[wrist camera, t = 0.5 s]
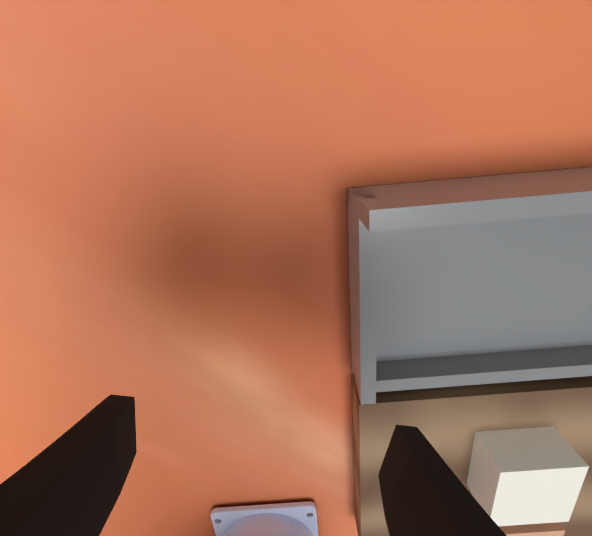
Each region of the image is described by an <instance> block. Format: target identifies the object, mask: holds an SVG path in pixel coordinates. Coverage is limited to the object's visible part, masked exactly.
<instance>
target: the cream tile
mask: <svg viewBox="0 0 592 536" xmlns="http://www.w3.org/2000/svg"><path fill="white" fill-rule="evenodd" d="M588 468H589V466H588V465H587V463H586V462H585V461H584V460H583V459H582V458H581V457H580V456H579V455H578V453H577V452H576V451H575V450H574V449H573V448H572V447H571V446H570V444H569V443H568V442H567V441H566V440H565V439H564V438H563V437H562V435H561V434H560V433H559V432H558V431H557V430H556V429H555V428H554V426H548V427H534V428H521V429H507V430H493V431H480V432H475V437H474V442H473V448H472V454H471V460H470V466H469V472H468V478H467V485H468V487H469V489H470V491H471V493H472V495H473V497H474V498H475V499H476V501H477V502H478V503H479V504H480V505H481V507H482V508H483V509H484V510H485V511H486V513H487V514H488V515H489V516H490V517H491V518H492V520H493V521H494V522H495V523H496V524H497V525H498V526H511V525H526V524H541V523H556V522H569V520H570V517H571V514H572V511H573V509H574V506H575V503H576V501H577V498H578V495H579V492H580V490H581V487H582V484H583V482H584V479H585V476H586V474H587V471H588Z"/></svg>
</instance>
